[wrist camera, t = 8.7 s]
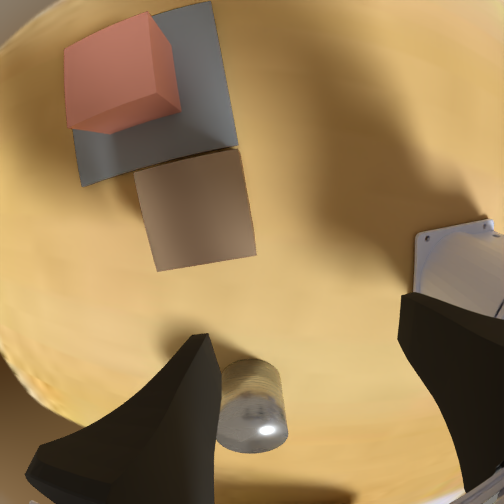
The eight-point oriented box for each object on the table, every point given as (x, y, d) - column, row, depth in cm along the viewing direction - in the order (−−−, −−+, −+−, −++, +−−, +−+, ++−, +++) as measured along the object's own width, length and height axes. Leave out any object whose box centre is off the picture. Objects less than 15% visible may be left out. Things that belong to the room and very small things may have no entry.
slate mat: (211, 4, 13) (210, 0, 12) (238, 145, 16) (238, 144, 16) (72, 54, 13) (68, 52, 13) (85, 186, 17) (81, 187, 16)
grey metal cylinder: (276, 354, 21) (284, 411, 15) (283, 395, 22) (291, 448, 17) (214, 363, 21) (206, 419, 15) (228, 402, 23) (225, 455, 17)
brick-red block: (171, 45, 14) (147, 11, 9) (181, 111, 15) (156, 92, 10) (103, 70, 14) (64, 48, 9) (110, 134, 15) (67, 128, 10)
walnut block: (240, 153, 17) (237, 148, 12) (254, 230, 18) (256, 255, 13) (163, 169, 17) (133, 172, 12) (179, 243, 18) (157, 271, 13)
